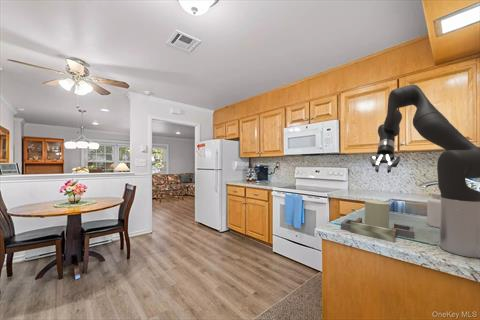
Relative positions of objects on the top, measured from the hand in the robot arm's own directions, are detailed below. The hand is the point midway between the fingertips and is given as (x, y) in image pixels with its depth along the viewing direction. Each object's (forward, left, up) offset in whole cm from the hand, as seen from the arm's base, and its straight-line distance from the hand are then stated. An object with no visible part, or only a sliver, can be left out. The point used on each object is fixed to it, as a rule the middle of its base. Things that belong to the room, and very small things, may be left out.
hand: (382, 171), depth 104 cm
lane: (0, +24, -24) cm, 34 cm away
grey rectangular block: (0, +19, -24) cm, 31 cm away
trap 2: (-9, +20, -24) cm, 33 cm away
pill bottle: (-21, -4, -24) cm, 32 cm away
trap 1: (+9, +27, -24) cm, 37 cm away
